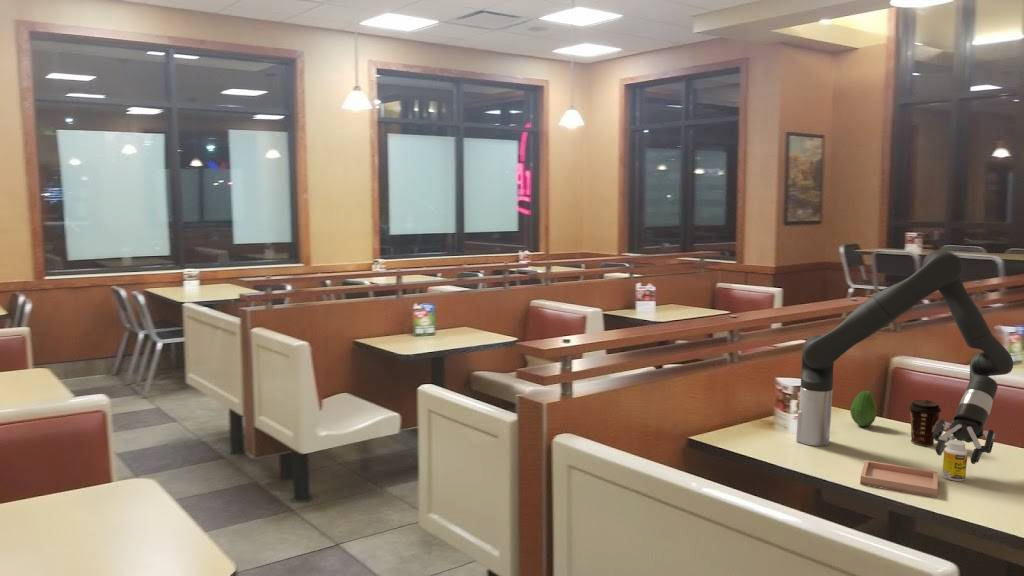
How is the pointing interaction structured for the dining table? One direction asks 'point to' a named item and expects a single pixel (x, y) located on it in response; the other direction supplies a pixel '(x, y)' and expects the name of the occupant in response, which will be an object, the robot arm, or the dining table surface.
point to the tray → (900, 478)
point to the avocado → (863, 409)
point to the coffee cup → (923, 421)
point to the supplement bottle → (955, 461)
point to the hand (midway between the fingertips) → (955, 458)
